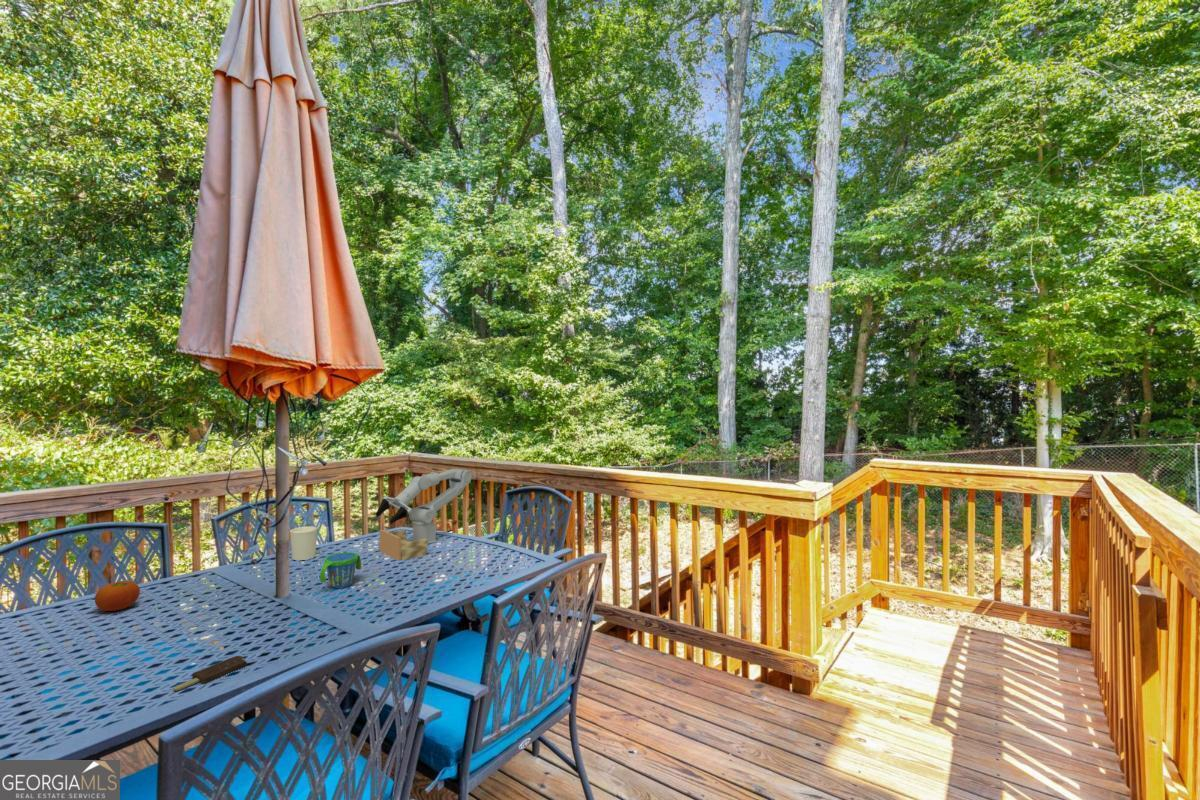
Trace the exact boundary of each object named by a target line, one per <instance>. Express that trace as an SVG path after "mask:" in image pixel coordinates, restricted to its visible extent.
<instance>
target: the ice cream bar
mask: <svg viewBox="0 0 1200 800" xmlns="http://www.w3.org/2000/svg"><path fill="white" fill-rule="evenodd" d="M247 662H248V661H246V660H245V657H243V656H241V655H236V656H235V655H234V656H232V657H230V658H227V659H225V660H222V661H220V662H216V663H214V664H212V665H209V666H208V667H205V668H202V669H200V670H198V671H195V672H193V673H192V677H191V678H192V679H190V680H188V681H186V682H182V683H180V684H178V685H175V686H173V689H172V690H173V691H175V692H177V691H178V692H179V691H181V690H183V689H186V688H189V687H190V686H192V685H195V684H197V683H199V684H202V685H206V684H208V683H210V682H213V681H215V679H216V680H218V679H220V678H222V677H221V676H223V677H224V675H225V676H227V675H229V674H228V673H230V674H232V673H234V672H236V671H235V670H237V671H239V670H242V669H243V667H244V668H246V667H247V666H248V663H247ZM245 666H246V667H245ZM241 668H242V669H241ZM238 669H239V670H238ZM233 671H234V672H233ZM231 672H232V673H231ZM226 674H227V675H226ZM217 678H218V679H217Z"/></svg>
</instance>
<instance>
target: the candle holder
mask: <svg viewBox="0 0 1200 800" xmlns="http://www.w3.org/2000/svg"><path fill="white" fill-rule="evenodd" d="M289 533H290V549H291V550H290V553H291V560H292V559H294V560H305V559H310V558H313V557H315V558H316V551H317V537H318V527H317V526H308V525H307V526H298V527H296V528H295V527H294V528H292V529H289Z"/></svg>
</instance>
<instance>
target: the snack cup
mask: <svg viewBox="0 0 1200 800" xmlns="http://www.w3.org/2000/svg"><path fill="white" fill-rule="evenodd" d="M361 568H362V559H361V557H360V555H359V554H358V553H356V552H349V551H347V552H337V553H333V554H329V555H328V556H326V557H325V558H324V563H323V564H322V567H321V569H320V575H319V580H320V582H321V583H326V582H327V579H326V573H325V572H327V577H328V585H329V586H330V588H332V589H343V588H346V587H349V586H350V585H353V584H354V580H355V574H356V569H357V570H361Z"/></svg>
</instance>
